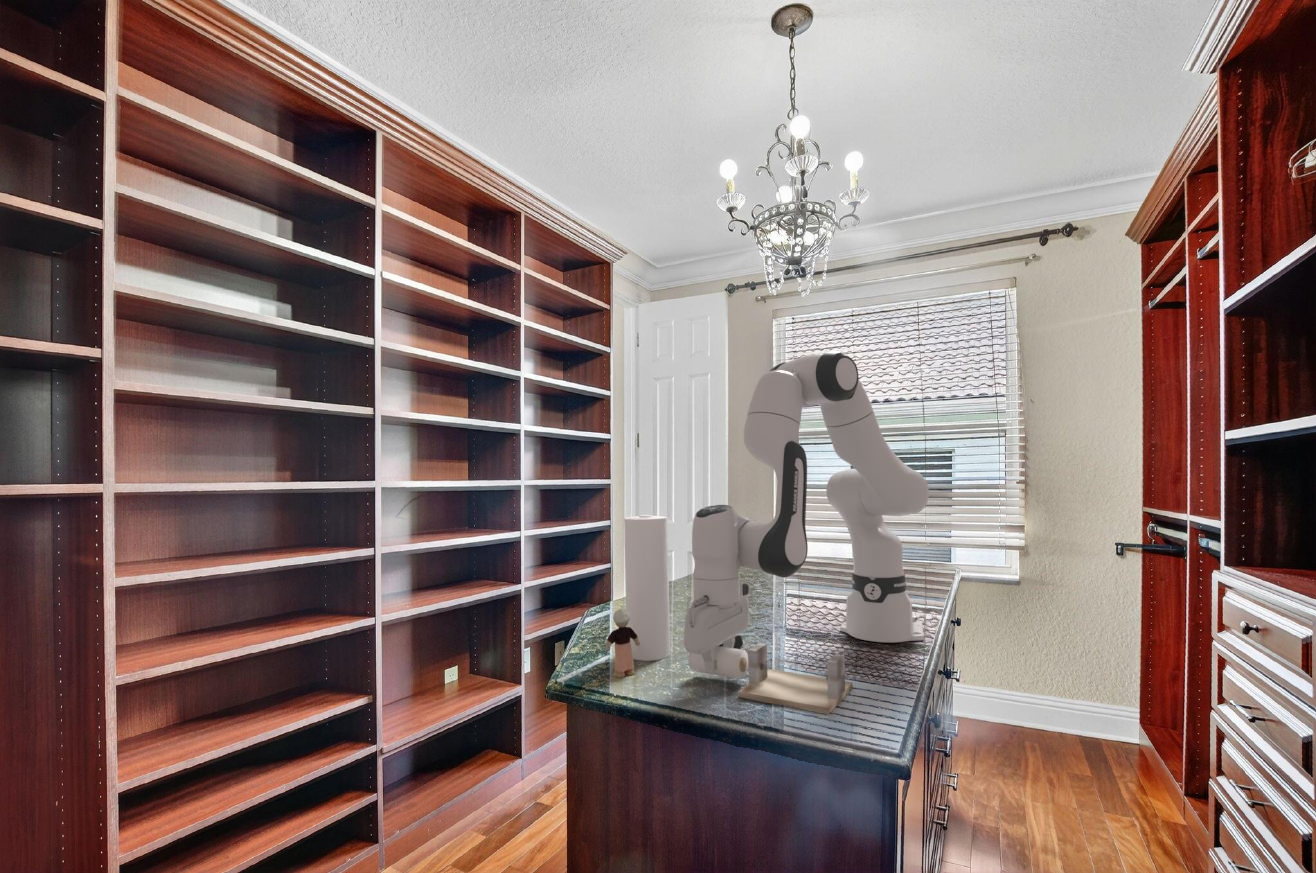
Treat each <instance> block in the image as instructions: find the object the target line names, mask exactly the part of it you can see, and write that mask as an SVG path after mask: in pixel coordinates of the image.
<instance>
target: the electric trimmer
mask: <svg viewBox="0 0 1316 873" xmlns="http://www.w3.org/2000/svg"><path fill="white" fill-rule="evenodd" d="M743 645H744V642H743V638H742V636H741V635H739V634H737V635H735V643H734V647H733V648H735V649H741V648H742V647H743ZM718 646H721V647H723V643H721V644H719V645H718Z"/></svg>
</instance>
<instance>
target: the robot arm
mask: <svg viewBox="0 0 1316 873" xmlns="http://www.w3.org/2000/svg"><path fill="white" fill-rule="evenodd" d="M817 405H818V406H819V407H820V411H821V415H822V417H823V418H822V419H823V422H824V425H825V427H826V429H827V432H828V436H829V439H830V441H831V444H832V447H833V449H834V452H835V454H836V455H837V456H838V458H839V459H841V460H842V461H844V462H846V463H847V464H849V465H850V466H851V467H853V468H850V469H845V470H841V471H838V472H835V473H834V474H832V475H831V476H830V478H829V479H828V482H827V485H826V497H827V501H828V503H829V504H830V506H831V507H832V508H833V509H834V510H836V511H837V512H838V514H839V515H840V516H841V518H842V520H843V522H844V524H845V525H846V528H847V531H848V533H849V537H850V542H851V548H852V562H853V572H852V573H851V588H852V589H853V590H852V592H851V593H849V595H847V596H846V604H845V605H846V608H845V610H846V613H845V614H846V615H845V616H846V617H845V623H844V624H841V625H840V627H839V630H840V631H841V632H843V633H845V634H846V633H847V634H848V635H849V636H850V637H854V638H855V639H859V640H862V641H863V640H864V641H869V642H876V643H904V642H910V641H911V642H913V641H914V642H915V641H924V640H925V638H924V637H925V636H924V629H923V622H922V621H921V620H918V619H917V616H916V615H915V616H913V602H912V600H911V597H909V594H908V593H907V589H908V588H907V587H908V586H907V580H906V574H905V572H904V562H903V561H904V559H903V558H904V557H903V544H902V541H901V539H900V537H898V535H896V533H893V532H892V530H890V529H889V528H888V526H887V525H886V523H885V521H884V517H883V516H889V517H903V516H909V515H914V514H915V515H916V514H919V513H921V512H922V511H923V510H924V508H925V507H926V506H927V503H928V501H929V497H930V488H929V484H928V482H927V480H926V478H925V477H924V476H923V475H922V474H921V473H920V472H918V471H917V470H915V469H913V468H911V467H909V466H908V465H907V464H906V463H904V461H902V460H901V459H900V458H899V457H898V456H897V454H896V453H894V451H893V450H892V449H891V447H890V446H889V445H888V443H887V442H886V439H885V437H884V436H883V432H882V431H881V429H880V425H879V423H878V421H877V417H876V415H875V412H874V409H873V405H872V404H871V401H870V398H869V396H868V393H867V392H866V390H865V388H864V387H863V385H862V383H861V381H860V379H859V370H858V367H857V365H856V363H855V361H854V360H853V359H852V358H851V357H850V356H849V355H848V354H847V353H845V352H842V351H838V350H837V351H826V352H824V353H815V354H808V355H803V356H802V357H798V358H796V359H792V360H790V361H784V362H781V363H778V364H777V365H775V366H774V367H773V366H772V367H771V369H770V370H769V371H767V372H765V373H764V374H762V376H761V377H760V378H759V380H758V382H757V384H756V386H755V389H754V391H753V393H752V397H751V400H750V403H749V407H748V411H747V415H746V419H745V423H744V427H743V442H744V446H745V447H746V449H747V451H748V452H749V454H750V455H751V456H752V457H754V459H756V460H757V461H759V462H761V463H763V464H765V465H767V466H769V467H770V468H772V470H773V471H774V473H775V476H776V480H777V481H776V483H777V484H776V499H775V513H774V514H775V515H774V518H773V519H772V520H771V521H761V520H755V519H750V518H748V517H745V516H743V515H741V514H739V512H736V511H735V509H734V507H733V506H731V505H728V504H716V505H709V506H706V507H703V508H700V509H699V510H698V511H696V513H695V515H694V517H693V521H692V531H691V548H692V549H691V553H692V557H693V560H694V568H693V569H694V570H693V571H692V572H693V573H692V580H693V581H692V582H693V583H692V584H693V585H692V586H693V589H692V590H693V591H692V592H693V601H692V602H691V605H690V607H689V608H688V610H687V611H686V615H685V620H684V634H683V635H684V636H683V637H684V639H683V640H684V641H683V646H684V649H685V651H686V652H687V653H688V654H689V653H695V654H701V655H702V657H703V659H704V661H705V670H706V671H710V672H712V671H714V670H715V669H716V668H717V660H714V656H713V653H714V647H716V646H718V645H720V644H722V643H723V647H728V648H733V647H734V643H735V637H736V636H738V635H739V634H741V633H743V632H744V631H746V630H747V628H748V625H749V621H750V615H749V614H750V605H749V604H750V601H749V597H748V595H750V593H751V585H750V583H748V582H745V581H743V580H741V579H740V571H739V569H740V568H743V569H747V570H751V571H754V572H755V571H756V572H763V573H765V574H770V575H772V576H776V577H778V578H779V577H780V578H788V577H791V576H793V575H795V574H796V573H797V572H798V571H799V570H800V569H801V568H802V566H803V565H804V564H805V562H806V560H807V557H808V538H807V532H806V519H807V518H806V517H807V514H806V513H807V512H806V510H807V489H808V486H807V485H808V459H807V458H808V457H807V455H806V451H805V449H804V448H803V446H802V445H801V444H800V439H799V438H800V437H799V434H800V432H799V431H800V426H801V419H802V412H803V408H807V407H808V408H810V407H815V406H817Z"/></svg>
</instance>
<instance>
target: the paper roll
mask: <svg viewBox="0 0 1316 873" xmlns="http://www.w3.org/2000/svg"><path fill="white" fill-rule="evenodd" d="M713 656H714V660H717V668H716V669H715V670H714V671H712V672H710V671H706V670H705V661H704V659H703V657H702V655H701V654H695V653H689V652H688V667H689V668H690V671H692V672H697V673H701V674H702V673H703V674H708V675H714V676H719V677H727V678H732V679H738V680H743V679H744V678H745V677H746V675H747V672H748V670H749V666H748V651H746V650H745V649H741V648H740V649H735V648H728V647H721V646H716V647H714V653H713Z"/></svg>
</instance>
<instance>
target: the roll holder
mask: <svg viewBox="0 0 1316 873" xmlns="http://www.w3.org/2000/svg"><path fill="white" fill-rule="evenodd" d="M767 646H768V644H766V643H761V642H759V643H757V644H756V645H754V646H752V647H751V648H749V649H748V650H747V655H748V684H746V685H745V686H743V687H742V688H740V690H737V691H738V693H737V694H738V695H737V696H738V698H741V699H748V700H751V701H756V702H761V703H768V704H772V703H773V704H772V705H777V706H782V705H783V706H784V707H788V708H792V707H795V708H794V709H798V708H799V709H798V710H803V709H806V710H805V711H808V712H813V711H814V712H813V713H818V712H820V713H819V714H824V715H830V714H831V713H832V711H834V709H835V708H836V707H837V706H838V705H839V704H840V703H841V702H842V701H843V699H845V697H846V696H847V695H848V694H849V693H850V692H851V691H852V690H853V688H854V687H853V686H854V684H853V682H852V681H847V680H846V671H845V670H846V668H845V667H846V666H845V654H838V653H835V654H834V655H832V656H831V657H830V658H829V659H828V660H826V677H821V676H816V675H810V674H803V673H798V672H792V671H786V670H780V669H778V670H777V669H774V668H773V669H772V668H768V652H767V650H768V647H767ZM850 690H851V691H850ZM849 691H850V692H849ZM846 694H847V695H846ZM840 701H841V702H840ZM838 703H839V704H838ZM830 712H831V713H830Z"/></svg>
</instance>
